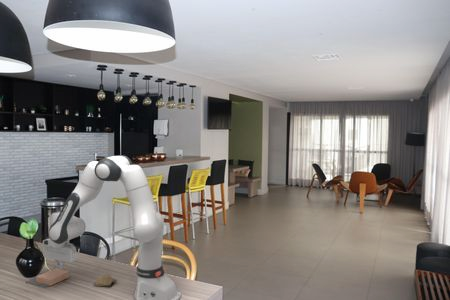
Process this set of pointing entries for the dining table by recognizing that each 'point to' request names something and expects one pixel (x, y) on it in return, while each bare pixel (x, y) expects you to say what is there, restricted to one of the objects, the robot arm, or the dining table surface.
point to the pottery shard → (104, 280)
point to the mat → (37, 283)
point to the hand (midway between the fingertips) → (59, 268)
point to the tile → (52, 276)
